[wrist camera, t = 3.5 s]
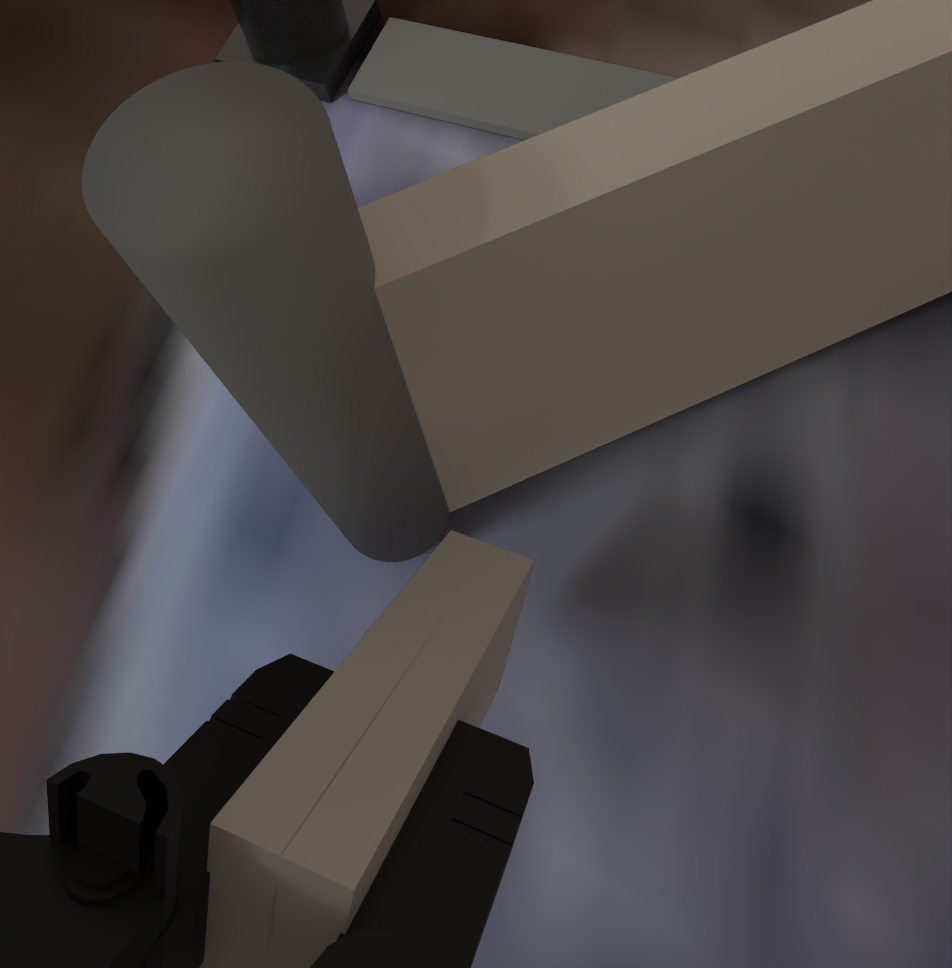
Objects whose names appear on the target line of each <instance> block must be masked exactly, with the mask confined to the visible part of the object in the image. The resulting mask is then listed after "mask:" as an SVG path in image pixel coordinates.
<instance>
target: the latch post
mask: <svg viewBox="0 0 952 968" xmlns="http://www.w3.org/2000/svg"><path fill="white" fill-rule="evenodd" d="M230 1H231V4H232V6H233V9H234V12H235V14H236V17H237V19H238V22H239V23H238V24H237V26H236V27H235V29H234V30H233V32H232V33H231V35H230V36H229V38H228V39H227V41H226V42H225V44H224V45H223V47H222V48H221V50H220V51H219V53H218V54H217V56H216V57H215V61H216V62H232V61H236V62H250V63H256V64H262V65H266V66H269V67H273V68H276V69H279V70H281V71H283V72H286V73H288V74H290V75H292V76H293V77H295V78H297V79H298V80H300V81H301V82H303V83H304V84H305V85H306V86H307V87H309V88H310V89H311V90H312V91H313V93H314V94H315V95H316V96H317V97H318V98H319V100H322V101H326V102H331V101H332V99H333V97H334V95H335V94H336V92H337V90H338V89H339V87H340V85H341V83H342V82H343V80H344V78H345V77H346V75H347V73H348V71H349V70H350V68H351V66H352V65H353V63H354V61H355V59H356V58H357V56H358V54H359V53H360V51H361V49H362V47H363V46H364V44H365V42H366V41H367V39H368V37H369V35H370V34H371V32H372V30H373V29H374V27H375V25H376V23H377V22H378V20H379V18H380V11H379V6H378V1H377V0H230Z"/></svg>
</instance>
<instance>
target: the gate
mask: <svg viewBox="0 0 952 968" xmlns="http://www.w3.org/2000/svg"><path fill="white" fill-rule="evenodd" d="M82 192H83V197H84V202H85V205H86V207H87V210H88V212H89V215H90V216H91V218H92V219H93V221H94V223H95V224H96V226H97V227H98V228H99V229H100V231H101V232H102V233H103V234H104V236H105V237H106V238H107V239H108V241H109V242H110V243H111V244H112V246H113V247H114V248H115V249H116V251H117V252H118V253H119V254H120V256H121V257H122V258H123V259H124V261H125V262H126V263H127V264H128V266H129V267H130V268H131V269H132V271H133V272H134V273H135V274H136V276H137V277H138V278H139V279H140V281H141V282H142V283H143V284H144V286H145V287H146V288H147V289H148V291H149V292H150V293H151V294H152V296H153V297H154V298H155V299H156V301H157V302H158V303H159V304H160V306H161V307H162V308H163V309H164V311H165V312H166V313H167V314H168V316H169V317H170V318H171V319H172V321H173V322H174V323H175V324H176V326H177V327H178V328H179V329H180V331H181V332H182V333H183V334H184V336H185V337H186V338H187V339H188V341H189V342H190V343H191V344H192V346H193V347H194V348H195V349H196V351H197V352H198V353H199V354H200V356H201V357H202V358H203V359H204V361H205V362H206V363H207V364H208V366H209V367H210V368H211V369H212V371H213V372H214V373H215V374H216V376H217V377H218V378H219V379H220V381H221V382H222V383H223V384H224V386H225V387H226V388H227V389H228V391H229V392H230V393H231V394H232V396H233V397H234V398H235V399H236V401H237V402H238V403H239V404H240V406H241V407H242V408H243V409H244V411H245V412H246V413H247V414H248V416H249V417H250V418H251V419H252V421H253V422H254V423H255V424H256V426H257V427H258V428H259V429H260V431H261V432H262V433H263V434H264V436H265V437H266V438H267V439H268V441H269V442H270V443H271V444H272V446H273V447H274V448H275V449H276V451H277V452H278V453H279V454H280V456H281V457H282V458H283V459H284V461H285V462H286V463H287V464H288V466H289V467H290V468H291V469H292V471H293V472H294V473H295V474H296V476H297V477H298V478H299V479H300V481H301V482H302V483H303V484H304V486H305V487H306V488H307V489H308V491H309V492H310V493H311V494H312V496H313V497H314V498H315V499H316V501H317V502H318V503H319V504H320V506H321V507H322V508H323V509H324V511H325V512H326V513H327V514H328V516H329V517H330V518H331V519H332V521H333V522H334V523H335V524H336V526H337V527H338V528H339V529H340V531H341V532H342V533H343V534H344V536H345V537H346V538H347V539H348V541H349V542H350V543H351V544H352V545H353V546H354V548H356V549H357V550H358V551H359V552H361V553H362V554H364V555H365V556H367V557H370V558H372V559H375V560H378V561H384V562H400V561H405V560H409V559H412V558H414V557H417V556H419V555H421V554H422V553H424V552H425V551H427V550H428V549H429V548H431V547H432V546H433V545H434V544H435V543H436V542H437V540H438V539H439V538H440V536H441V535H442V533H443V532H444V530H445V528H446V526H447V523H448V520H449V515H450V512H452V511H455V510H457V509H459V508H461V507H464V506H466V505H468V504H471V503H473V502H475V501H477V500H480V499H482V498H484V497H486V496H489V495H491V494H493V493H496V492H498V491H500V490H502V489H505V488H507V487H509V486H511V485H514V484H516V483H518V482H520V481H523V480H525V479H527V478H530V477H532V476H534V475H536V474H539V473H541V472H543V471H545V470H548V469H550V468H552V467H555V466H557V465H559V464H561V463H564V462H566V461H568V460H570V459H573V458H575V457H577V456H580V455H582V454H584V453H586V452H589V451H591V450H593V449H595V448H598V447H600V446H602V445H605V444H607V443H609V442H611V441H614V440H616V439H618V438H620V437H623V436H625V435H627V434H630V433H632V432H634V431H636V430H639V429H641V428H643V427H645V426H648V425H650V424H652V423H655V422H657V421H659V420H661V419H664V418H666V417H668V416H670V415H673V414H675V413H677V412H679V411H682V410H684V409H686V408H689V407H691V406H693V405H695V404H698V403H700V402H702V401H704V400H707V399H709V398H711V397H714V396H716V395H718V394H720V393H723V392H725V391H727V390H729V389H732V388H734V387H736V386H739V385H741V384H743V383H745V382H748V381H750V380H752V379H754V378H757V377H759V376H761V375H764V374H766V373H768V372H770V371H773V370H775V369H777V368H779V367H782V366H784V365H786V364H789V363H791V362H793V361H795V360H798V359H800V358H802V357H804V356H807V355H809V354H811V353H814V352H816V351H818V350H820V349H823V348H825V347H827V346H829V345H832V344H834V343H836V342H839V341H841V340H843V339H845V338H848V337H850V336H852V335H854V334H857V333H859V332H861V331H863V330H866V329H868V328H870V327H873V326H875V325H877V324H879V323H882V322H884V321H886V320H888V319H891V318H893V317H895V316H898V315H900V314H902V313H904V312H907V311H909V310H911V309H913V308H916V307H918V306H920V305H923V304H925V303H927V302H929V301H932V300H934V299H936V298H938V297H941V296H943V295H945V294H948V293H950V292H952V0H873V1H870V2H868V3H865V4H863V5H860V6H858V7H855V8H853V9H850V10H848V11H845V12H843V13H840V14H838V15H836V16H833V17H831V18H828V19H826V20H823V21H821V22H818V23H816V24H813V25H811V26H808V27H806V28H803V29H801V30H798V31H796V32H793V33H791V34H788V35H786V36H783V37H781V38H778V39H776V40H773V41H771V42H768V43H766V44H763V45H761V46H758V47H756V48H753V49H751V50H748V51H746V52H743V53H741V54H739V55H736V56H734V57H731V58H729V59H726V60H724V61H721V62H719V63H716V64H714V65H711V66H709V67H706V68H704V69H701V70H699V71H696V72H694V73H691V74H689V75H686V76H684V77H681V78H679V79H676V80H674V81H671V82H669V83H666V84H664V85H661V86H659V87H656V88H654V89H651V90H649V91H646V92H644V93H642V94H639V95H637V96H634V97H632V98H629V99H627V100H624V101H622V102H619V103H617V104H614V105H612V106H609V107H607V108H604V109H602V110H599V111H597V112H594V113H592V114H589V115H587V116H584V117H582V118H579V119H577V120H574V121H572V122H569V123H567V124H564V125H562V126H559V127H557V128H554V129H552V130H550V131H547V132H545V133H542V134H540V135H537V136H535V137H532V138H530V139H527V140H525V141H522V142H520V143H517V144H515V145H512V146H510V147H507V148H505V149H502V150H500V151H497V152H495V153H492V154H490V155H487V156H485V157H482V158H480V159H477V160H475V161H472V162H470V163H467V164H465V165H462V166H460V167H457V168H455V169H453V170H450V171H448V172H445V173H443V174H440V175H438V176H435V177H433V178H430V179H428V180H425V181H423V182H420V183H418V184H415V185H413V186H410V187H408V188H405V189H403V190H400V191H398V192H395V193H393V194H390V195H388V196H385V197H383V198H380V199H378V200H375V201H373V202H370V203H368V204H365V205H363V206H360V207H358V208H357V205H356V202H355V198H354V195H353V192H352V189H351V186H350V183H349V180H348V177H347V173H346V170H345V167H344V164H343V161H342V158H341V155H340V152H339V148H338V145H337V142H336V139H335V136H334V133H333V130H332V127H331V123H330V120H329V118H328V115H327V113H326V110H325V108H324V106H323V105H322V103H321V101H320V100H319V98H318V97H317V96H316V95H315V94H314V93H313V91H312V90H311V89H310V88H309V87H307V86H306V85H305V84H304V83H303V82H301V81H300V80H298V79H297V78H295V77H293V76H292V75H290V74H288V73H286V72H283V71H281V70H279V69H276V68H273V67H269V66H266V65H262V64H256V63H250V62H236V61H232V62H215V63H208V64H202V65H198V66H193V67H189V68H186V69H183V70H180V71H177V72H174V73H171V74H169V75H167V76H164V77H162V78H160V79H158V80H156V81H154V82H152V83H150V84H149V85H147V86H145V87H143V88H142V89H141V90H139V91H138V92H136V93H135V94H133V95H132V96H130V97H129V98H128V99H127V100H126V101H124V102H123V103H122V104H121V105H120V106H119V107H118V108H117V109H116V110H115V111H114V112H113V113H112V114H111V115H110V116H109V117H108V118H107V120H106V121H105V122H104V123H103V125H102V126H101V127H100V129H99V130H98V132H97V134H96V135H95V137H94V139H93V140H92V143H91V145H90V147H89V149H88V151H87V155H86V158H85V161H84V165H83V172H82Z"/></svg>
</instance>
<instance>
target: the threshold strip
mask: <svg viewBox="0 0 952 968" xmlns="http://www.w3.org/2000/svg"><path fill="white" fill-rule="evenodd" d="M676 79H679V78H677V77H673V76H668V75H663V74H658V73H654V72H649V71H644V70H639V69H635V68H630V67H625V66H620V65H616V64H611V63H606V62H601V61H597V60H592V59H587V58H582V57H578V56H573V55H568V54H563V53H559V52H554V51H549V50H544V49H540V48H535V47H530V46H525V45H521V44H516V43H511V42H506V41H502V40H497V39H492V38H487V37H483V36H478V35H473V34H468V33H464V32H459V31H454V30H449V29H445V28H440V27H435V26H430V25H426V24H421V23H416V22H411V21H407V20H402V19H397V18H392V17H389V19H388V21H387V22H386V24H385V26H384V28H383V29H382V31H381V33H380V35H379V36H378V38H377V40H376V41H375V43H374V45H373V47H372V48H371V50H370V52H369V54H368V55H367V57H366V59H365V61H364V62H363V64H362V66H361V67H360V69H359V71H358V73H357V74H356V76H355V78H354V80H353V81H352V83H351V85H350V87H349V88H348V93H349V96H350V99H354V100H358V101H363V102H367V103H371V104H375V105H380V106H384V107H388V108H392V109H396V110H401V111H405V112H409V113H413V114H418V115H422V116H426V117H430V118H434V119H439V120H443V121H447V122H451V123H456V124H460V125H464V126H468V127H472V128H477V129H481V130H485V131H489V132H494V133H498V134H502V135H506V136H511V137H515V138H519V139H523V140H527V139H530V138H532V137H535V136H537V135H540V134H542V133H545V132H547V131H550V130H552V129H554V128H557V127H559V126H562V125H564V124H567V123H569V122H572V121H574V120H577V119H579V118H582V117H584V116H587V115H589V114H592V113H594V112H597V111H599V110H602V109H604V108H607V107H609V106H612V105H614V104H617V103H619V102H622V101H624V100H627V99H629V98H632V97H634V96H637V95H639V94H642V93H644V92H646V91H649V90H651V89H654V88H656V87H659V86H661V85H664V84H666V83H669V82H671V81H674V80H676Z"/></svg>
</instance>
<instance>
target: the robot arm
mask: <svg viewBox="0 0 952 968" xmlns="http://www.w3.org/2000/svg"><path fill="white" fill-rule="evenodd" d="M534 561H535V560H534V559H532V558H529V557H526V556H523V555H520V554H517V553H515V552H512V551H509V550H506V549H503V548H501V547H498V546H495V545H492V544H489V543H486V542H484V541H481V540H478V539H475V538H472V537H469V536H467V535H464V534H461V533H458V532H455V531H452V530H451V531H450V532H449V533H448V534H447V536H446V537H445V538H444V539H443V540H442V542H441V543H440V544H439V545H438V547H437V548H436V549H435V550H434V551H433V553H432V554H431V555H430V556H429V557H428V559H427V560H426V561H425V562H424V564H423V565H422V566H421V567H420V568H419V570H418V571H417V572H416V573H415V575H414V576H413V577H412V578H411V579H410V581H409V582H408V583H407V584H406V585H405V587H404V588H403V589H402V590H401V592H400V593H399V594H398V595H397V596H396V598H395V599H394V600H393V601H392V603H391V604H390V605H389V606H388V607H387V609H386V610H385V611H384V612H383V613H382V615H381V616H380V617H379V618H378V620H377V621H376V622H375V623H374V624H373V626H372V627H371V628H370V629H369V630H368V632H367V633H366V634H365V635H364V637H363V638H362V639H361V640H360V641H359V643H358V644H357V645H356V646H355V648H354V649H353V650H352V651H351V652H350V654H349V655H348V656H347V657H346V658H345V660H344V661H343V662H342V663H341V665H340V666H339V667H338V668H337V669H336V671H335V672H334V671H332V670H329V669H327V668H324V667H322V666H319V665H317V664H315V663H312V662H310V661H307V660H305V659H302V658H300V657H297V656H295V655H292V654H289V655H286V656H284V657H282V658H280V659H278V660H276V661H274V662H272V663H270V664H267V665H265V666H263V667H261V668H259V669H257V670H256V671H255V672H254V673H253V674H252V675H251V676H250V677H249V678H248V679H247V680H246V681H245V682H244V683H243V684H242V685H241V686H240V687H239V688H238V689H237V690H236V691H235V692H234V693H233V694H232V697H231V699H230V700H226V701H225V702H224V703H223V704H222V705H221V706H220V707H219V708H218V709H217V710H216V711H215V713H214V714H213V715H212V716H211V719H210V720H209V721H206V722H205V723H204V724H203V725H202V726H201V727H200V728H199V729H198V730H197V731H196V732H195V733H194V734H193V735H192V736H191V737H190V738H189V739H188V740H187V741H186V742H185V743H184V744H183V745H182V746H181V747H180V748H179V749H178V750H177V751H176V752H175V753H174V754H173V755H172V756H171V757H170V758H169V759H168V760H167V761H166V763H165V764H164V765H163V764H161V763H160V762H159V761H157V760H156V759H153V758H149V757H145V756H141V755H138V754H134V753H111V754H100V755H97V756H93V757H90V758H87V759H84V760H81V761H78V762H75V763H72V764H70V765H69V766H67V767H66V768H64V769H63V770H61V771H60V772H58V773H57V774H55V775H53V776H52V777H50V778H49V779H47V796H48V812H49V828H50V835H21V834H13V833H4V832H0V968H199V967H200V968H471V965H472V962H473V959H474V957H475V954H476V951H477V948H478V945H479V942H480V939H481V937H482V934H483V931H484V928H485V925H486V922H487V919H488V916H489V914H490V911H491V908H492V905H493V902H494V899H495V896H496V893H497V891H498V888H499V885H500V882H501V879H502V876H503V873H504V870H505V868H506V865H507V862H508V859H509V856H510V853H511V850H512V847H513V844H514V841H515V838H516V835H517V832H518V829H519V826H520V823H521V820H522V817H523V814H524V811H525V808H526V805H527V802H528V799H529V796H530V793H531V790H532V787H533V784H534V780H533V774H532V767H531V761H530V754H529V748H527V747H524V746H522V745H519V744H517V743H514V742H512V741H510V740H507V739H505V738H502V737H500V736H497V735H495V734H492V733H490V732H487V731H485V730H483V729H480V728H479V727H480V725H481V722H482V720H483V718H484V716H485V714H486V712H487V710H488V708H489V706H490V704H491V702H492V700H493V698H494V696H495V693H496V691H497V689H498V687H499V685H500V681H501V678H502V674H503V671H504V667H505V663H506V660H507V656H508V653H509V649H510V646H511V642H512V639H513V635H514V632H515V628H516V625H517V621H518V617H519V614H520V610H521V607H522V603H523V600H524V596H525V593H526V589H527V586H528V582H529V578H530V575H531V571H532V568H533V564H534Z"/></svg>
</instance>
